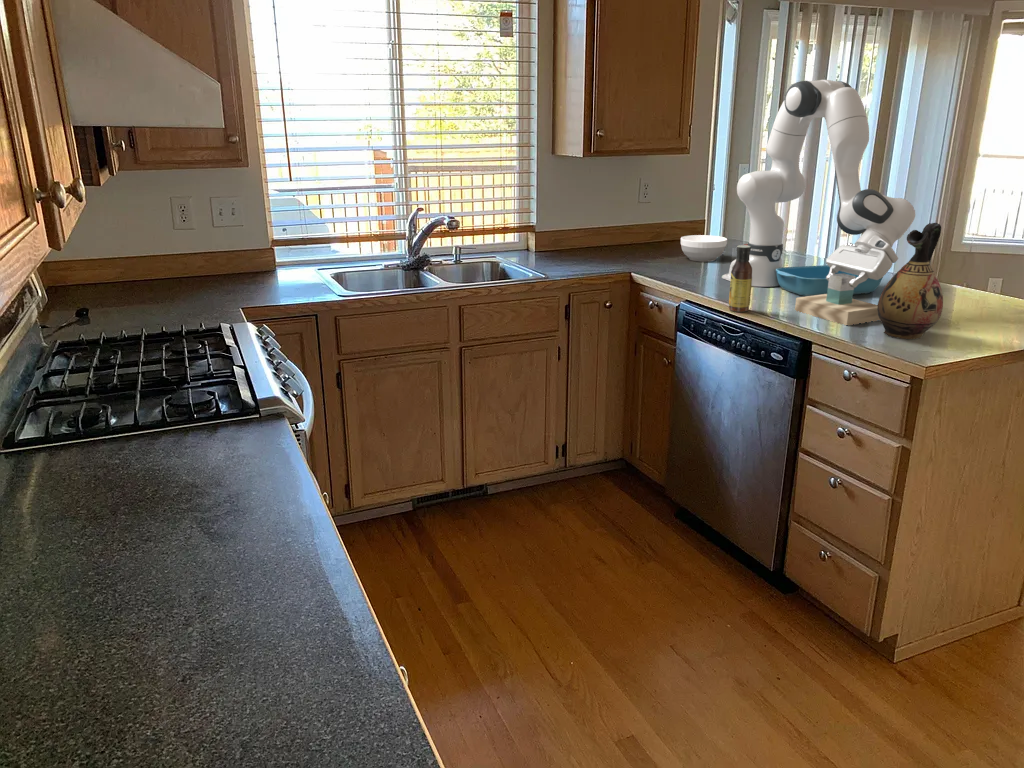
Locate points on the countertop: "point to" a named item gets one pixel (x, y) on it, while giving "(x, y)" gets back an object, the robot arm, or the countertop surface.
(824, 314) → the wooden block
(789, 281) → the casserole dish
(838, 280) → the white and teal block
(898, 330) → the ceramic jug
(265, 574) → the countertop surface
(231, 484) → the countertop surface
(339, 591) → the countertop surface
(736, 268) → the sauce bottle
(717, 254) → the bowl
